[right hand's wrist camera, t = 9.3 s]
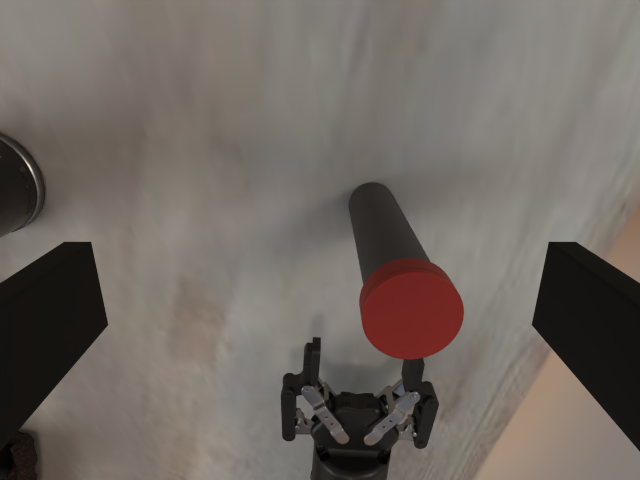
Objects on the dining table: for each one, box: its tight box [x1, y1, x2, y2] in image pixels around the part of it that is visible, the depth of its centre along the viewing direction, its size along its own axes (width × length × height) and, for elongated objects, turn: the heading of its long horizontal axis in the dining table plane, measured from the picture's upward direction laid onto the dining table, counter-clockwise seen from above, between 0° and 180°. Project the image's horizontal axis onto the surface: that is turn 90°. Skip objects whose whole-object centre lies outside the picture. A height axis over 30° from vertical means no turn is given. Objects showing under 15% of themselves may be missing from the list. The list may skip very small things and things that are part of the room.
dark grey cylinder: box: [349, 183, 430, 285], centre depth 30 cm, size 4×4×19 cm
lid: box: [359, 258, 464, 359], centre depth 22 cm, size 5×5×2 cm
